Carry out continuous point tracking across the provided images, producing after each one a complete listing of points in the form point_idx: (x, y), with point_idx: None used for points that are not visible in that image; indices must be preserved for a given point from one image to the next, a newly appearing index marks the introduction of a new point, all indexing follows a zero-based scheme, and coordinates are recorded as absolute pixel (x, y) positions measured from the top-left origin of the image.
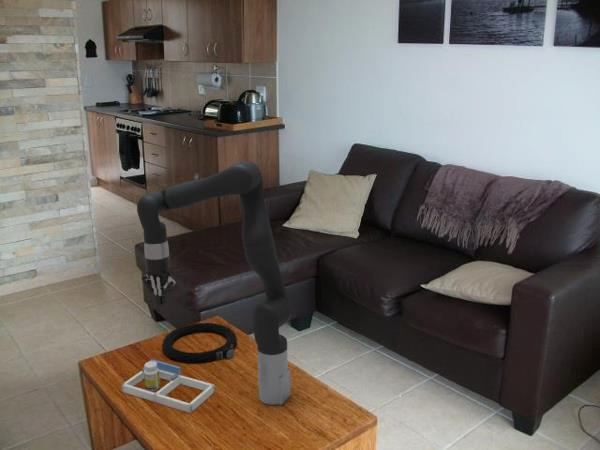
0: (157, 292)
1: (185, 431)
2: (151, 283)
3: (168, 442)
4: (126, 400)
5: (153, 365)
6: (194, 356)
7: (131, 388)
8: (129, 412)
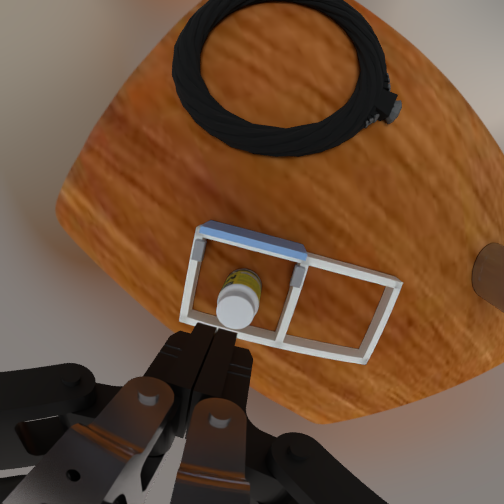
0: (163, 457)
1: (362, 395)
2: (16, 438)
3: (340, 418)
4: None
5: (246, 318)
6: (309, 148)
7: None
8: None
